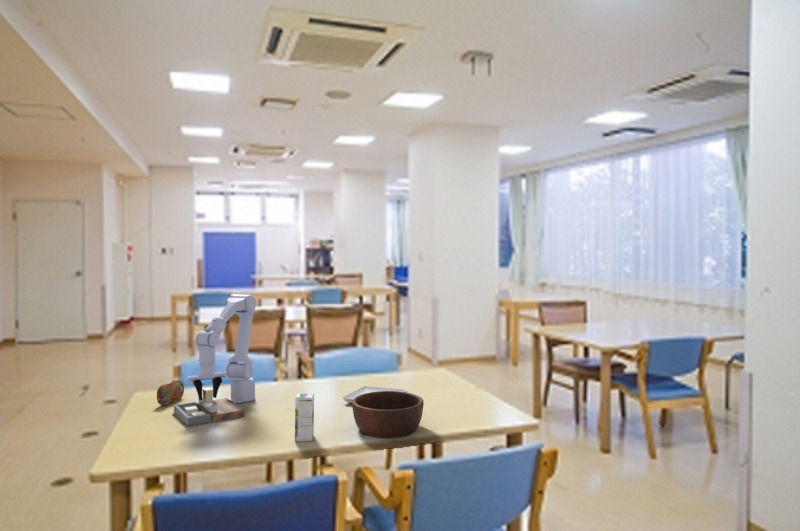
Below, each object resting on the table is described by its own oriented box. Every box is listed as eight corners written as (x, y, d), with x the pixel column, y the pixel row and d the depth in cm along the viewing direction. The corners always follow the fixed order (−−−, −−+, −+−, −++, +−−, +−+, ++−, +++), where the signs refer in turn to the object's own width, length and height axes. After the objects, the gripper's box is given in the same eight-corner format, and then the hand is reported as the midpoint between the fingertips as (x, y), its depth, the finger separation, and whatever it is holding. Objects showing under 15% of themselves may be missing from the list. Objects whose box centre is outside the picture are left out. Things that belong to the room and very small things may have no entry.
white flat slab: (204, 402, 210) (204, 384, 209) (217, 411, 197) (217, 393, 196) (198, 403, 208) (198, 385, 208) (210, 413, 195) (210, 394, 195)
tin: (162, 408, 211) (162, 386, 211) (155, 407, 212) (154, 386, 212) (184, 397, 226) (184, 378, 226) (178, 397, 227) (177, 377, 227)
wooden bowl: (429, 420, 196) (429, 392, 196) (415, 444, 172) (415, 412, 172) (364, 415, 202) (364, 388, 202) (342, 438, 177) (342, 407, 177)
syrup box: (296, 435, 179) (296, 393, 179) (314, 435, 180) (314, 392, 180) (294, 441, 174) (294, 397, 173) (313, 441, 174) (312, 397, 174)
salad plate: (341, 405, 216) (341, 397, 216) (364, 392, 236) (364, 384, 236) (389, 411, 208) (389, 402, 208) (408, 397, 228) (408, 389, 228)
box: (195, 409, 209) (195, 401, 209) (210, 422, 193) (210, 414, 193) (174, 412, 205) (173, 405, 205) (187, 426, 189) (187, 418, 189)
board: (226, 404, 217) (226, 397, 217) (244, 416, 201) (244, 409, 200) (196, 409, 210) (196, 402, 210) (211, 422, 193) (211, 415, 193)
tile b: (202, 416, 199) (202, 411, 199) (205, 419, 196) (205, 413, 196) (191, 418, 197) (191, 413, 196) (194, 421, 193) (194, 415, 193)
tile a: (195, 410, 206) (195, 405, 206) (197, 413, 203) (197, 408, 203) (184, 412, 204) (184, 407, 204) (187, 415, 200) (186, 410, 200)
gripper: (190, 367, 194) (190, 404, 195) (229, 362, 203) (230, 397, 203) (185, 363, 200) (185, 399, 201) (223, 359, 209) (224, 393, 209)
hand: (207, 398), depth 202 cm, fingers open, 5 cm apart
